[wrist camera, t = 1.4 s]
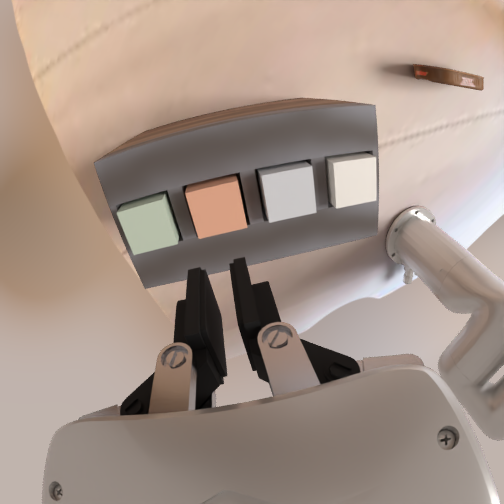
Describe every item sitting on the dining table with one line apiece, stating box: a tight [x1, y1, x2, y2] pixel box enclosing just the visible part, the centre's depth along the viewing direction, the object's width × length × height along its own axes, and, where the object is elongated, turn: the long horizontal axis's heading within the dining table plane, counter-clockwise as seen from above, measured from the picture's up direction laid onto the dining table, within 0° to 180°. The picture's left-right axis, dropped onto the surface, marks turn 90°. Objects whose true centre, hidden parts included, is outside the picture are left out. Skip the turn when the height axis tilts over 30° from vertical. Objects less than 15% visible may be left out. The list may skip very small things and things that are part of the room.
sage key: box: [117, 190, 180, 255], centre depth 21 cm, size 4×4×2 cm
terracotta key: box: [185, 173, 247, 239], centre depth 21 cm, size 4×4×2 cm
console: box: [94, 98, 379, 289], centre depth 29 cm, size 12×22×19 cm, turn 100°
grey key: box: [256, 160, 317, 223], centre depth 22 cm, size 4×4×2 cm
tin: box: [413, 64, 484, 90], centre depth 30 cm, size 15×3×8 cm, turn 101°
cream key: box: [324, 151, 377, 209], centre depth 22 cm, size 4×4×2 cm
